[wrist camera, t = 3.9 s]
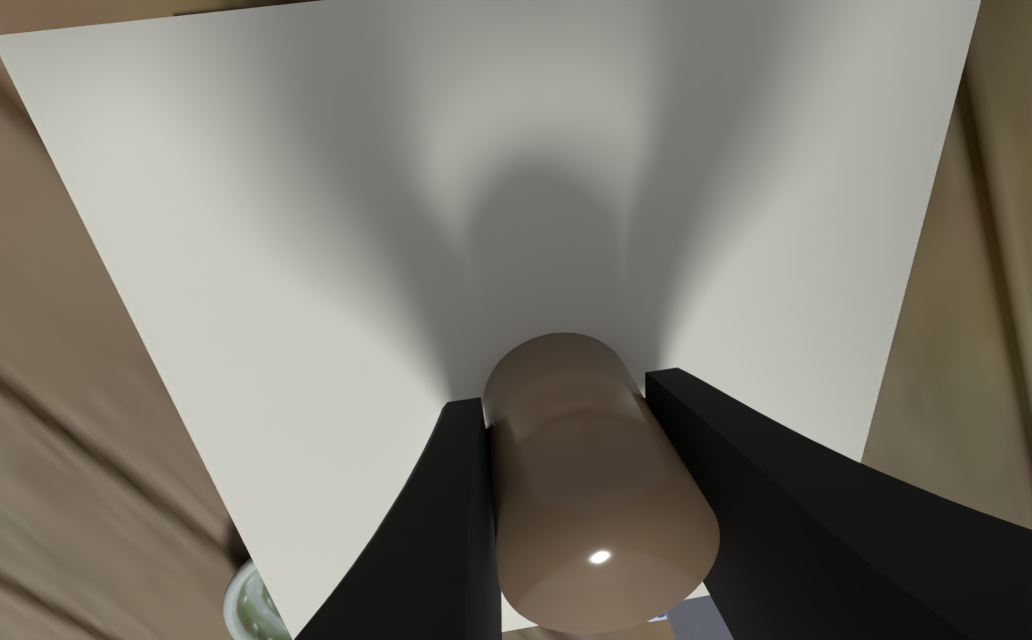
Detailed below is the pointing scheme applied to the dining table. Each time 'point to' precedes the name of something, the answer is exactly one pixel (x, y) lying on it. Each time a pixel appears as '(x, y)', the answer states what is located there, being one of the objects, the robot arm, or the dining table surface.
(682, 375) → the robot arm
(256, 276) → the cover
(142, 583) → the dining table surface
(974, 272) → the dining table surface
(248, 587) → the saucer
